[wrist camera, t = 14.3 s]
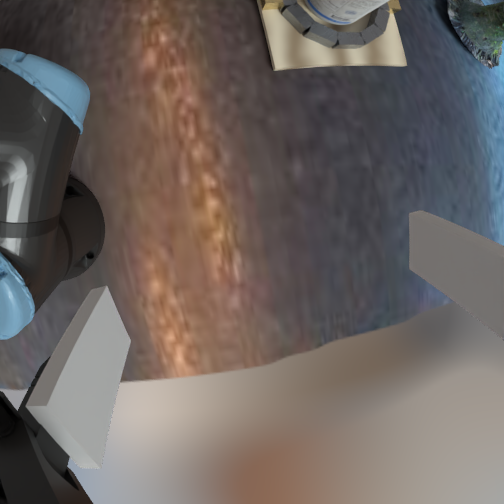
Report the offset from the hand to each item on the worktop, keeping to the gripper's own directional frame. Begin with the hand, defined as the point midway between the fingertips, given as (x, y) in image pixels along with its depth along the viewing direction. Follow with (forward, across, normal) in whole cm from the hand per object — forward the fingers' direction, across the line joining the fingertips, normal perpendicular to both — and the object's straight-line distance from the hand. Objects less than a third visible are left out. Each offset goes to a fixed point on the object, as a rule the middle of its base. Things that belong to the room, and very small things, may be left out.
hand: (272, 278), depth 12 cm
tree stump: (+32, +55, +25) cm, 69 cm away
